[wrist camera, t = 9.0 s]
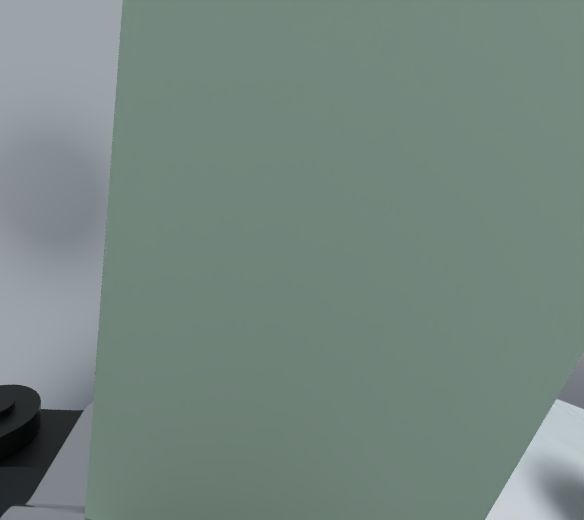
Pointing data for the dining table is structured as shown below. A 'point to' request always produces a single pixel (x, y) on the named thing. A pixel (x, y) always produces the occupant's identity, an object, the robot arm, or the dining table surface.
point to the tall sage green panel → (336, 256)
